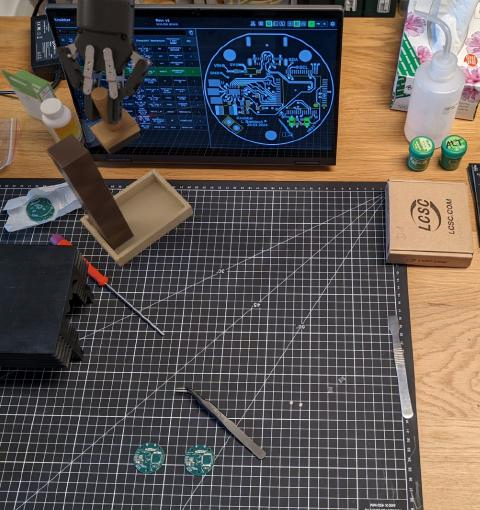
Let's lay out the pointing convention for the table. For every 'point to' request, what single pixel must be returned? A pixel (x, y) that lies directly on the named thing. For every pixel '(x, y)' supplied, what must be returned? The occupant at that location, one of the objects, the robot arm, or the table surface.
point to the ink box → (30, 91)
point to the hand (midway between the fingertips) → (103, 121)
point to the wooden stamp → (112, 134)
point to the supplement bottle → (59, 120)
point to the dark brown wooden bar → (90, 190)
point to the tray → (145, 215)
